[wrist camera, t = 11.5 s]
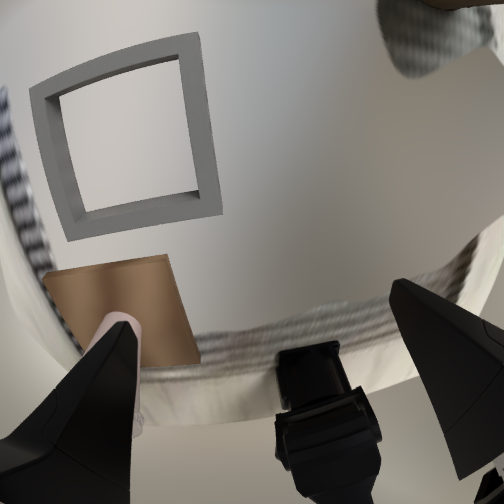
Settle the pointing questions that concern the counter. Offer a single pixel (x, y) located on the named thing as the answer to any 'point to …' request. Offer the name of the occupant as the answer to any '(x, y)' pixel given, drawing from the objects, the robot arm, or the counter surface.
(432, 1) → the pillar candle
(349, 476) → the robot arm
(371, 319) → the counter surface
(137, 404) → the smoothie
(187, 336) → the walnut coaster
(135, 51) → the frame
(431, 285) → the counter surface
